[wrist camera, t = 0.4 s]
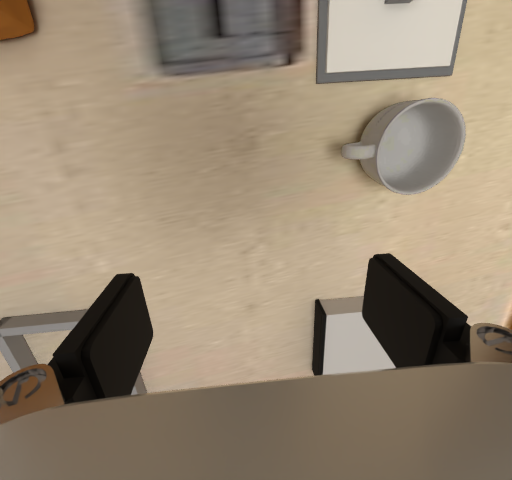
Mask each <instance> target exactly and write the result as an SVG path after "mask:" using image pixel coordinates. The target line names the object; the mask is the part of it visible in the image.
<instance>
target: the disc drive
mask: <svg viewBox="0 0 512 480" xmlns="http://www.w3.org/2000/svg"><path fill="white" fill-rule="evenodd" d="M363 299H364V296H360V297H349V298H338V299H327V300H319V299H316V300H315V321H314V343H313V364H312V370H313V373H314V376H317V375H327V374H337V373H348V372H358V371H369V370H379V369H390V368H396V367H395V365H394V364H393V362H392V361H391V360H390V358H389V357H388V355H387V354H386V352H385V351H384V349H383V348H382V346H381V345H380V343H379V342H378V340H377V339H376V337H375V336H374V334H373V333H372V331H371V330H370V328H369V327H368V325H367V324H366V322H365V321H364V319H363V317H362V306H363Z"/></svg>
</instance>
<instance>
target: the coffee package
mask: <svg viewBox="0 0 512 480" xmlns="http://www.w3.org/2000/svg"><path fill="white" fill-rule="evenodd" d="M33 31H34V22H33V19H32V16H31V12H30V9H29V6H28V2H27V0H0V40H3V39H7V38H15V37H20V36H23V35H25V34H29V33H31V32H33Z"/></svg>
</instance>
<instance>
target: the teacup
mask: <svg viewBox="0 0 512 480" xmlns="http://www.w3.org/2000/svg"><path fill="white" fill-rule="evenodd" d="M465 136H466V133H465V122H464V119H463V117H462V114H461V113H460V111H459V110H458V108H457V107H456V106H455V105H453V104H452V103H451V102H449V101H446V100H443V99H439V98H428V99H422V100H414V101H406V102H400V103H397V104H394V105H391V106H389V107H387V108H385V109H383V110H382V111H380V112H379V113H378V114H377V115H376V116H375V117H374V118H373V119H372V120H371V121H370V122H369V123H368V125H367V126H366V128H365V130H364V132H363V134H362V137H361V140H360V142H357V143H350V144H345V145H343V147H342V150H341V155H342V157H343V158H346V159H360V163H361V166H362V168H363V169H364V171H365V172H366V174H367V175H368V176H369V177H371V178H372V179H373V180H375V181H376V182H378V183H380V184H381V185H383V186H385V187H387V188H388V189H389V190H391V191H393V192H395V193H399V194H405V195H411V194H417V193H421V192H424V191H426V190H428V189H430V188H432V187H433V186H435V185H437V184H438V183H439V182H440V181H442V180H443V179H444V178H445V177H446V176H447V175H448V173H449V172H450V171H451V170H452V168H453V167H454V165H455V164H456V162H457V161H458V159H459V156H460V154H461V152H462V150H463V146H464V142H465Z"/></svg>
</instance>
